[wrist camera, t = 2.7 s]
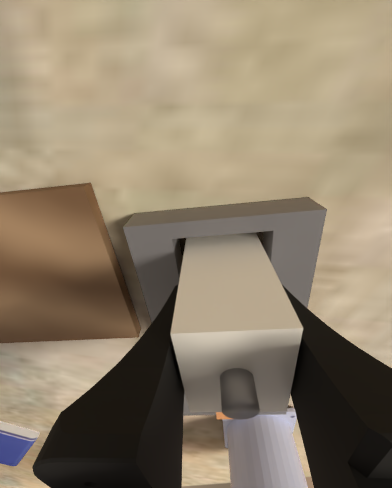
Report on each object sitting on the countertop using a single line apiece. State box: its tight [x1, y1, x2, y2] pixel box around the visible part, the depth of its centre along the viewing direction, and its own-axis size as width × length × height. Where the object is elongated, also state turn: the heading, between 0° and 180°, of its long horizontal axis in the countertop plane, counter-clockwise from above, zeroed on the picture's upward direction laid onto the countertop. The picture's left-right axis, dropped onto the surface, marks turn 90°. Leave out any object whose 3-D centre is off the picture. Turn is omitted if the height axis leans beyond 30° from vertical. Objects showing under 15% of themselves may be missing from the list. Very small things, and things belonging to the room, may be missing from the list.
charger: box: [170, 232, 303, 420], centre depth 10 cm, size 5×4×8 cm
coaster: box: [0, 183, 141, 343], centre depth 15 cm, size 12×12×1 cm
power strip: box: [123, 197, 327, 419], centre depth 16 cm, size 20×10×3 cm, turn 6°
